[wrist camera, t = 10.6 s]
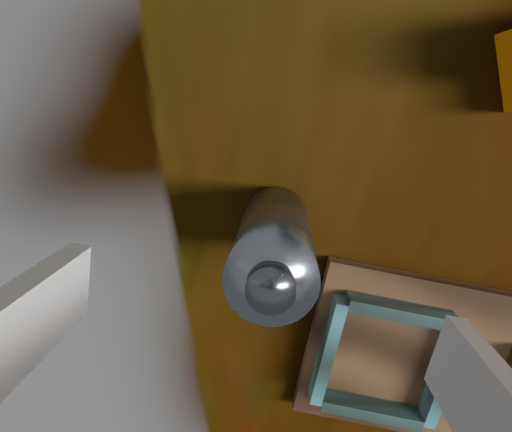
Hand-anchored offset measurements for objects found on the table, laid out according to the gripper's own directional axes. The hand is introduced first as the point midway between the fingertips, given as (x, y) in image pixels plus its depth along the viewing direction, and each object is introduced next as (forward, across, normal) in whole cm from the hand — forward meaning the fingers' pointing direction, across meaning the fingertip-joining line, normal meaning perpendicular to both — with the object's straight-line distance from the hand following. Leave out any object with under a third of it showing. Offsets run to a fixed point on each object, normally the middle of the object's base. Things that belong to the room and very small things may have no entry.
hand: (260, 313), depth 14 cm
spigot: (+12, 0, 0) cm, 12 cm away
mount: (+12, +14, -8) cm, 20 cm away
